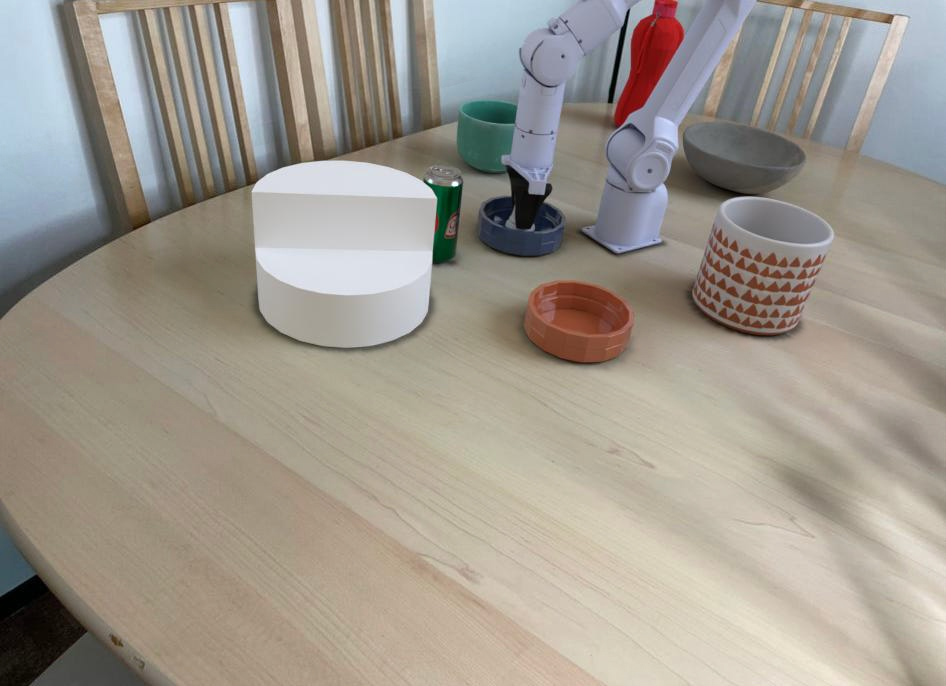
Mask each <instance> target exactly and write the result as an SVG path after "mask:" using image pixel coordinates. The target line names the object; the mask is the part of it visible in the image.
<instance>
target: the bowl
mask: <svg viewBox="0 0 946 686" xmlns="http://www.w3.org/2000/svg"><path fill="white" fill-rule="evenodd" d="M682 147H683V151H684V155H685V157H686V160H687V162H688V164H689V166H690V167H691V168H692V170H693V171H694V172H695V173H696V174H697V175H698V176H699V177H700V178H702V179H703V180H704V181H707V182H708V183H710V184H712V185H714V186H716V187H719V188H721V189H725V190H729V191H731V192H735V193H739V194H746V195H761V194H762V195H763V194H765V193H770V192H773V191H775V190H777V189H779V188H781V187H783V186H785V185H787V184H788V183H790V182H792V180H793V179H795V178H796V177H797V176H798V175H799V174H800V172H802V171H803V169H804V167H805V165H806V163H807V155H806V153H805V151H804V150H803V148H801V147H800V146H799V144H797V143H795V142H793V141H791V140H790V139H788V138H787V137H784V136H782V135H781V134H777V133H774V132H772V131H769V130H766V129H763V128H759V127H756V126H755V127H754V126H750V125H745V124H740V123H734V122H727V121H705V122H704V121H703V122H697V123H693V124H691V125H689V126H687V127H686V128H685V129H684V131H683V133H682Z"/></svg>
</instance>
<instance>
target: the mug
mask: <svg viewBox="0 0 946 686" xmlns="http://www.w3.org/2000/svg"><path fill="white" fill-rule="evenodd" d="M517 107H518V103H517V104H516V103H514V102H509V101H505V100H496V99H476V100H475V99H474V100H470V101H466V102H464V103H462V104H461V105H460V107H459V111H458V117H457V128H456V129H457V130H456V146H457V147H456V148H457V153H458V154H459V156H460V158H461V159H462V160H463V161H464V162H465V163H467V164H468V165H470V166H471V167H472V168H473V169H475V170H478V171H480V172H483V173H490V174H501V173H502V174H503V173H506V172H508V171H507V169H506V165H504V164H502V161H501V157H502V155H510V154H511V149H512V142H513V135H514V128H515V121H516V114H517Z"/></svg>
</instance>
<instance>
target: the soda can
mask: <svg viewBox="0 0 946 686" xmlns="http://www.w3.org/2000/svg"><path fill="white" fill-rule="evenodd" d="M422 181H423V182H424V183H425V184H426V185H427V186H429V187H430V188H431V189H432V190H433V192H434V194H435V196H436V197H437V208H436V219H435V231H434V242H433V256H432V263H434V264H443V263H448V262H450V261H451V260H452V259H454V258H455V257H456V255H457V247H458V246H457V245H458V238H459V237H458V236H459V227H460V218H461V209H462V199H463V190H464V189H463V188H464V178H463V177H462V171H461V170H460V169H459V168H457V167H455V166H452V165H447V164H435V165H430V166H429V167H427V169H426V173H425V174H424V176H423V180H422Z"/></svg>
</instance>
